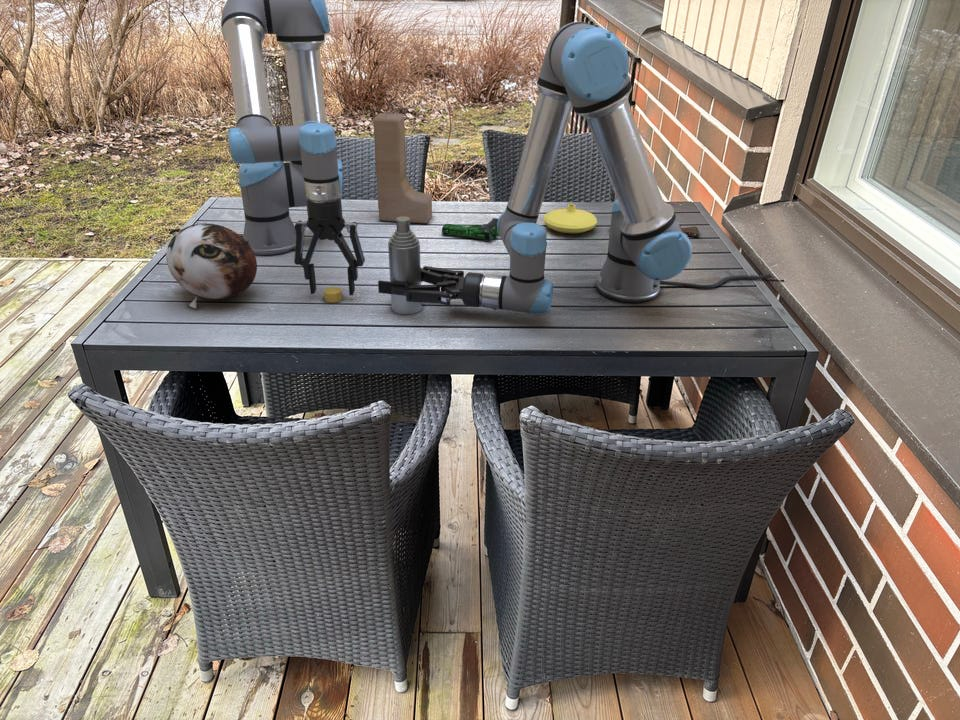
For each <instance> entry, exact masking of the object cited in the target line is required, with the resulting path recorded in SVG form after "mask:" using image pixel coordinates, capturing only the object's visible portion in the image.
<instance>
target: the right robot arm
mask: <svg viewBox="0 0 960 720" xmlns="http://www.w3.org/2000/svg"><path fill="white" fill-rule="evenodd" d="M629 71H630V57H629V54H628V50H627V48H626V45H625V44H624V42H622V41H621V39H620V38H619V37H618V36H617V35H616V34H615V33H614V32H612V31H610V30H608V29H607V28H603V27H600V26H599V27H598V26H595V25H593V24H591V23H588V22H585V21H572V22H569V23H566V24H565V25H564V24H563V26H561V27H560V28H559V29H557V31H555V33H553V35H552V36H551V38H550V40H549V42H548V44H547V46H546V50H545V53H544V55H543V59H542V64H541V66H540V71H539V74H538V78H537V81H536V87H537V89H538V92H539V93H538V96H537V99H536V104H535V106H534V109H533V113H532V117H531V120H530V124H529V128H528V131H527V134H526V138H525V141H524V145H523V147H522V152H521V156H520V159H519V162H518V166H517V169H516V173H515V175H514V179H513V183H512V186H511V190H510V193H509V197H508V200H507V204H506V207H505V209H504V211H503V212H502V213H501V214H500V215H499V217H498V218H497V219H498V222H497V229H498V234H499V236H498V237H499V238H500V240H501V241H502V243H503V245H504V247H505V250H506V251H507V254H508V255H509V275H503V274H495V273H494V274H493V273H486V274H485V275H484V273H482V272H474V271H473V272H472V271H469V272H467V273H466V274H465V271H464V270H454V269H447V268H442V267H441V268H440V267H435V266H428V265H424V266H423V268H421V283H423V282H424V283H426V284H421V285H413V286H408V283H398V282H390V280H379V279H378V281H377V286H378V287H377V288H378V293H379V294H387V295H391V294H394V295H403V296H406V301H407V302H420V303H423V304H438V305H439V304H440V305H444V306H450V305H451V301H452V300H461V301H462V304H463V305H464V306H466V307H474V308H479V307H482V308H485V309H493V310H494V311H496V310H500V311H501V310H502V311H510V312H518V313H527V314H529V315H530V314H534V315H546V314H548V313H550V311H551V308H552V304H553V298H554V283H553V281H551V280H549V279H545V267H546V255H547V254H546V253H547V246H548V241H547V230H546V228H545V226H543V225H542V224H541V225H540V224H539V223H537V222H538V219H539V215H540V212H541V209H542V205H543V202H544V199H545V197H546V192H547V190H548V186H549V183H550V180H551V177H552V174H553V171H554V167H555V164H556V161H557V158H558V155H559V151H560V149H561V145H562V143H563V142H562V141H563V139H564V136H565V133H566V129H567V126H568V123H569V120H570V117H571V114H572V110H573V112H574V113H575V115H577V116H580V117H583V118H584V119H585V120H586V122H587V125H588V128H589V130H590V133H591V136H592V138H593V141H594V143H595V146H596V149H597V151H598V153H599V157H600V159H601V162H602V164H603V167H604V169H605V172H606V175H607V178H608V180H609V182H610V185H611V188H612V190H613V193H614V195H615V198H616V199H615V200H613V204H612V210H611V212H610V214H611V215H610V216H611V218H610V224H609V234H608V244H607V253H606V254H607V255H606V258H605V261H604V264H603V265H602V267H601V270H600V271H599V273H598V276H597V280H596V283H595V284H596V286H595V287H596V290H597V292H598V293H600V294H601V295H602V296H604V297H605V298H608V299H610V300H613V301H617V302H621V303H622V302H623V303H633V304H634V303H635V304H636V303H646V302H649V301H652V300H655V299H657V297H658V296H659V294H660V292H661V291H660V290H661V285H664V286H675V287H676V286H678V287H687V288H693V289H706V290H707V289H714V288H718V287H720V286H721V285H722V284H724V283H725V282H728V281H733V280H759V279H760V280H762V279H770V278H771V279H772V278H773V277H772V276H771V274H772V273H768V274H757V275H758V276H759V277H758V276H757V275H750V276H748V275H749V274H747V275H746V274H745V275H743V274H742V275H741V274H740V275H729V276H726V277H723V278H722V279H720V280H719V281H718V282H717V283H712V284H696V283H690V282H679V281H670V279H672V278H674V277H676V276H678V275H679V274H681V273H682V272H683V271H684V270H685V269H686V268H687V265H688V264H689V262H690V261H691V259H692V256H693V245H692V242H691V240H690V238H689V236H688V237H687V235H686V234H684V233H682V231H681V229H680V226H679V225H680V223H679V221H678V218H677V215H676V212H675V210H674V209H675V208H674V207H673V206H672V205H671V204H670V203H668V202H667V203H666V202H665V201H664V200H663V197H662V195H661V191H660V189H659V186H658V183H657V180H656V177H655V174H654V172H653V169H652V166H651V162H650V160H649V157H648V153H647V151H646V147H645V146H644V142H643V139H642V137H641V134H640V131H639V128H638V125H637V122H636V119H635V116H634V114H633V110H632V108H631V105H630V102H629V96H630V94H631V92H632V90H633V85H632V82H631V80H630V76H629ZM668 280H669V281H668Z"/></svg>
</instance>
